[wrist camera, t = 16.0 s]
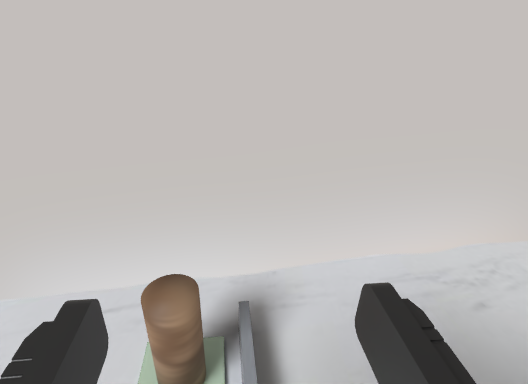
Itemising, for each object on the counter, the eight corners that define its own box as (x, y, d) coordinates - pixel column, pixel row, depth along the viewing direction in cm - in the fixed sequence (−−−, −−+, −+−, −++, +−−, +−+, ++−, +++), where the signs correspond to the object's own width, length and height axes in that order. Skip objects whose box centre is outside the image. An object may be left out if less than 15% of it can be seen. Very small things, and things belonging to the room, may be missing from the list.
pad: (224, 339, 38) (223, 336, 38) (225, 418, 30) (225, 415, 30) (148, 345, 37) (147, 342, 37) (128, 429, 29) (127, 426, 29)
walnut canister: (207, 353, 36) (200, 273, 30) (204, 398, 32) (196, 314, 26) (163, 356, 35) (148, 275, 30) (153, 402, 31) (134, 317, 26)
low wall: (247, 323, 41) (248, 301, 39) (258, 438, 29) (260, 413, 27) (238, 324, 40) (238, 301, 39) (246, 439, 29) (246, 414, 27)
